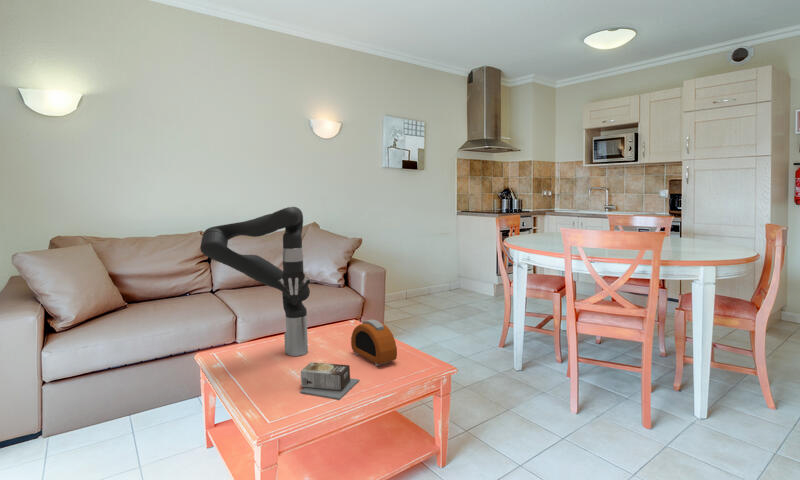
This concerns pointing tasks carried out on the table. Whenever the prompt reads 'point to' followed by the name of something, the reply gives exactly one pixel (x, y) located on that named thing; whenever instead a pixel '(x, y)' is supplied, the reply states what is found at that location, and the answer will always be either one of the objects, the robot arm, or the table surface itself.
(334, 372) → the coffee box
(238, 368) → the table surface
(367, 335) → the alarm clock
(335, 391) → the mat
